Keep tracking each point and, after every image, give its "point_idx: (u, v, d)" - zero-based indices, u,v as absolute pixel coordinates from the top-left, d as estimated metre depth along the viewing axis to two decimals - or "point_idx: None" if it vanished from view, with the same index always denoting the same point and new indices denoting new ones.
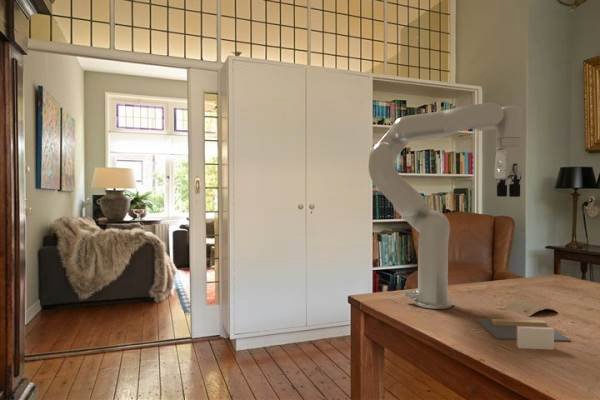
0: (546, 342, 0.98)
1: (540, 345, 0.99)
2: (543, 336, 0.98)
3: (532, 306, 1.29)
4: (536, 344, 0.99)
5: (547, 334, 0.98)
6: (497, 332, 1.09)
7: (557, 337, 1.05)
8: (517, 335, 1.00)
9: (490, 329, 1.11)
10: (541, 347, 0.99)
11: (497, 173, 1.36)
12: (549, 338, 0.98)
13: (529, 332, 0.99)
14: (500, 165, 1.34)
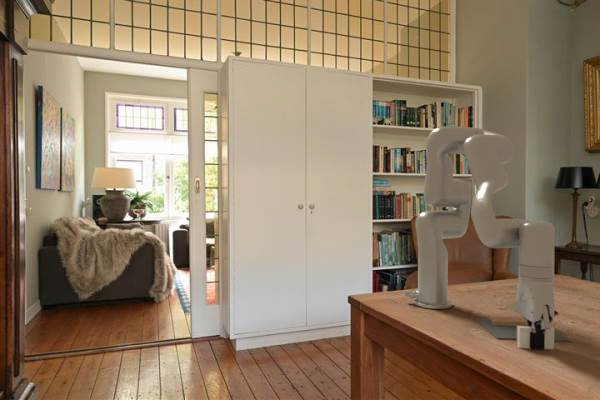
0: (546, 342, 0.98)
1: None
2: None
3: None
4: None
5: (547, 334, 0.98)
6: (497, 332, 1.09)
7: (557, 337, 1.05)
8: (517, 335, 1.00)
9: (490, 329, 1.11)
10: None
11: (520, 308, 1.01)
12: (549, 338, 0.98)
13: (529, 332, 0.99)
14: (525, 301, 0.99)
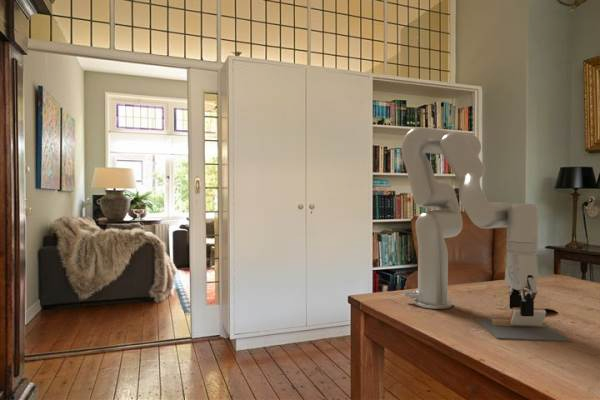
0: (536, 321, 1.12)
1: (530, 322, 1.12)
2: (535, 317, 1.11)
3: None
4: (527, 322, 1.12)
5: (539, 315, 1.11)
6: (497, 332, 1.09)
7: (557, 337, 1.05)
8: (512, 314, 1.13)
9: (490, 329, 1.11)
10: (531, 324, 1.13)
11: (508, 280, 1.15)
12: (540, 318, 1.11)
13: None
14: (512, 273, 1.13)
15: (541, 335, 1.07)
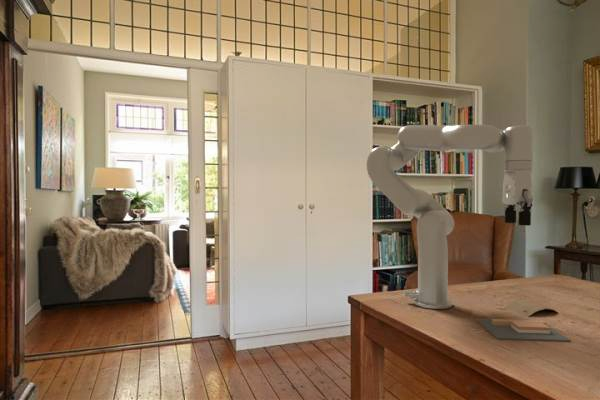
0: None
1: None
2: None
3: (532, 306, 1.29)
4: None
5: None
6: (497, 332, 1.09)
7: (557, 337, 1.05)
8: (515, 325, 1.11)
9: (490, 329, 1.11)
10: None
11: (505, 198, 1.25)
12: None
13: None
14: (509, 190, 1.22)
15: (541, 335, 1.07)
